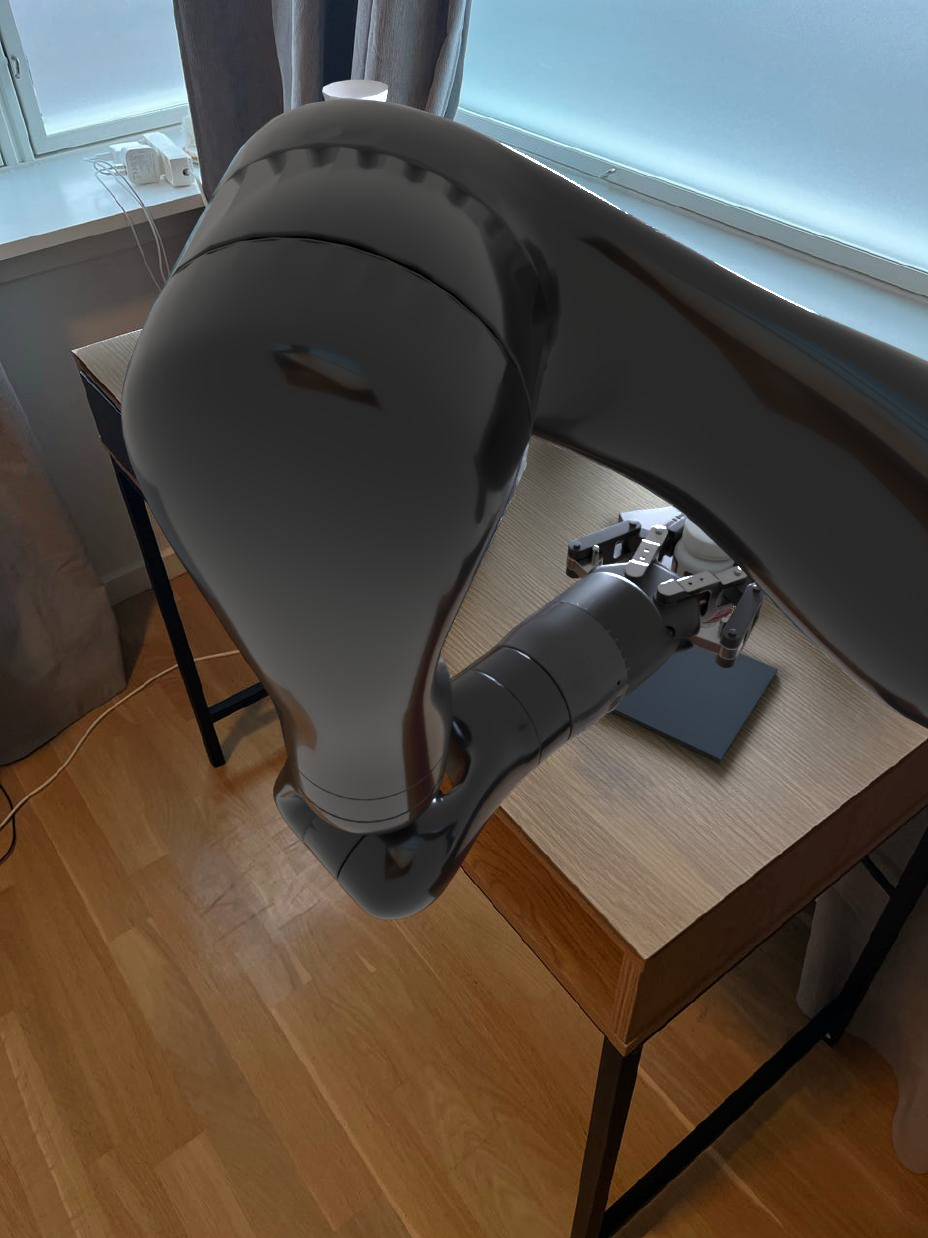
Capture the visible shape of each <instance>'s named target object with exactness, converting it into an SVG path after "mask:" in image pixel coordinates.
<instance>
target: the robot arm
mask: <svg viewBox="0 0 928 1238" xmlns="http://www.w3.org/2000/svg"><path fill="white" fill-rule="evenodd" d="M120 418H121V429H122V430H121V431H122V438H123V442H124V446H125V449H126V452H127V457H128V460H129V463H130V465H131V469H132V471H133V475H134V477H135V479H136V481H137V484H138V487H139V489H140V492H141V493H142V496H143V497H144V499H145V502H146V503H147V506H148V508H149V509H150V512H151V515H152V516H153V518H154V519H155V521H156V523H157V525H158V526H159V529H160V530H161V532H162V534H163V535H164V537H165V539H166V541H167V542H168V544H169V545H170V547H171V549H172V551H173V552H174V554H175V555H176V557H177V559H178V560H179V562H180V563H181V565H182V566H183V568H184V569H185V571H186V573H187V574H188V575H189V577H190V579H191V580H192V582H193V583H194V585H195V586H196V588H197V589H198V590H199V592H200V594H201V595H202V597H203V598H204V600H205V601H206V603H207V604H208V606H209V607H210V609H211V610H212V612H213V613H214V614H215V616H216V618H217V619H218V621H219V622H220V625H221V626H222V627H223V629H224V630H225V632H226V634H227V636H228V637H229V638H230V640H231V641H232V643H233V645H234V646H235V647H236V649H237V651H238V652H239V654H240V655H241V656H242V658H243V660H244V661H245V662H246V664H247V665H248V666H249V668H250V669H251V670H252V672H253V673H254V674H255V676H256V678H257V679H258V680H259V682H260V684H261V685H262V687H263V688H264V690H265V691H266V693H267V695H268V696H269V698H270V700H271V702H272V704H273V707H274V708H275V712H276V713H277V718H278V721H279V724H280V730H281V734H282V740H283V744H284V747H285V752H286V756H287V757H286V760H285V762H284V765H283V766H282V768H281V769H280V771H279V773H278V774H277V777H276V779H275V782H274V783H273V788H272V797H273V800H274V804H275V806H276V808H277V810H278V812H279V814H280V816H281V818H282V820H283V821H284V822H285V824H286V825H287V827H288V828H289V829H290V830H291V832H292V833H293V834H294V835H295V837H297V839H298V840H299V841H300V842H301V843H302V844H303V846H305V848H306V849H308V851H309V852H310V853H311V854H312V856H314V858H315V859H316V860H317V861H318V862H319V863H320V865H321V866H322V867H323V868H324V869H325V871H326V872H327V873H328V874H329V875H330V876H331V877H332V878H333V879H334V881H335V882H336V883H338V885H339V886H340V887H341V889H342V890H343V891H344V892H345V894H347V896H348V897H349V898H350V899H351V900H352V901H353V902H354V903H355V904H356V906H357V907H358V908H359V909H361V911H363V912H364V913H365V914H366V915H368V916H370V917H372V918H375V919H376V920H383V921H397V920H402V919H408V918H410V917H412V916H415V915H417V914H420V913H421V912H423V911H425V910H426V909H428V908H429V907H431V905H433V904H434V903H435V902H436V901H437V900H438V899H439V898H440V897H441V895H442V894H443V893H444V892H445V891H446V889H447V888H448V886H449V885H450V884H451V882H453V879H454V878H455V876H456V875H457V873H458V872H459V870H460V869H461V867H462V865H463V863H464V861H465V860H466V858H467V856H469V855H468V854H469V853H470V851H471V850H472V848H473V847H474V844H475V843H476V842H477V839H478V838H479V836H480V835H481V833H482V831H483V830H484V828H485V827H486V825H487V823H489V821H490V820H491V818H492V817H493V815H494V814H495V813H496V812H497V810H498V809H499V807H500V806H501V805H502V803H503V802H504V801H505V800H506V799H507V798H508V796H509V795H510V794H511V793H512V792H513V791H514V790H515V789H516V788H517V787H518V785H519V784H520V783H522V781H523V780H524V779H525V778H526V777H528V776H529V775H530V774H531V773H532V772H534V770H536V769H537V768H538V767H539V766H540V765H542V764H543V763H544V762H546V761H547V760H548V759H549V758H550V757H551V756H552V755H553V754H555V753H556V752H557V751H558V750H560V748H562V747H563V746H564V745H565V744H566V743H568V742H569V741H570V740H572V739H573V738H575V737H577V736H579V735H581V734H582V733H584V732H585V731H587V730H589V729H590V728H592V727H593V726H594V725H595V724H596V723H597V722H599V721H600V720H601V719H602V718H604V716H606V715H607V714H609V713H611V712H612V711H613V710H614V709H615V708H616V707H617V706H618V705H619V703H620V702H621V701H622V700H623V699H624V698H626V697H627V696H628V695H629V694H630V693H632V692H633V691H634V690H635V689H636V688H637V687H639V686H640V685H641V684H642V683H643V682H644V681H646V680H647V679H648V678H649V677H650V676H652V675H653V674H654V673H655V672H656V671H657V670H659V669H660V668H661V667H662V666H663V664H664V663H665V662H666V661H667V660H668V659H669V658H670V657H671V656H672V655H673V654H675V653H678V652H682V651H686V650H689V649H691V648H692V647H694V646H696V647H698V648H701V649H704V650H707V651H709V652H712V653H715V654H717V655H716V663H717V664H718V665H719V666H720V667H723V668H731V667H733V666H734V665H735V663H736V661H737V659H738V657H739V655H740V653H741V654H742V652H743V650H744V647H745V646H746V643H747V642H748V640H749V638H750V636H751V634H752V632H753V630H754V629H755V626H756V625H757V623H758V622H759V618H760V614H761V610H762V608H763V605H764V600H765V597H767V598H768V599H769V601H770V602H771V603H772V604H773V605H774V606H775V607H776V609H778V610H779V611H780V612H781V614H783V615H784V617H786V618H787V619H788V621H789V622H790V623H791V624H792V625H793V626H794V627H795V628H796V629H797V630H798V631H799V632H800V633H801V634H802V635H803V636H804V637H805V638H807V639H808V641H809V642H811V643H812V644H813V645H814V646H815V648H817V649H818V650H819V651H820V652H821V653H822V654H823V655H824V656H825V657H826V659H828V660H829V661H831V662H832V663H833V664H834V665H835V666H836V667H837V668H839V669H840V670H841V671H842V672H843V673H844V674H845V675H847V676H848V677H849V678H850V679H851V680H852V681H853V682H854V683H855V684H857V686H859V687H860V688H861V689H863V690H864V691H865V692H867V693H868V694H870V696H871V697H873V698H874V699H875V700H876V701H878V702H880V703H881V704H882V705H884V706H885V707H886V708H888V709H889V710H891V711H893V712H894V713H896V714H897V715H900V716H901V717H903V718H905V719H907V720H909V721H911V722H912V723H915V724H916V725H919V726H921V727H923V728H925V729H927V730H928V360H927V359H924V358H922V357H919V356H917V355H915V354H912V353H910V352H908V351H906V350H903V349H901V348H899V347H897V346H895V345H892V344H890V343H887V342H885V341H883V340H880V339H878V338H876V337H873V336H871V335H869V334H867V333H864V332H861V331H859V330H857V329H856V328H852V327H851V326H847V325H845V324H843V323H841V322H839V321H836V320H834V319H831V318H829V317H828V316H825V315H823V314H821V313H818V312H816V311H814V310H812V309H809V308H807V307H804V306H802V305H801V304H798V303H795V302H794V301H791V300H789V299H787V298H785V297H783V296H781V295H779V294H777V293H775V292H773V291H771V290H769V289H767V288H765V287H763V286H761V285H759V284H757V283H755V282H753V281H751V280H749V279H747V278H746V277H744V276H742V275H740V274H739V273H737V272H734V271H733V270H730V269H729V268H727V267H725V266H723V265H721V264H719V263H717V262H715V261H714V260H712V259H710V258H708V257H707V256H705V255H704V254H701V253H699V252H698V251H696V250H694V249H693V248H691V247H689V246H687V245H686V244H684V243H682V242H680V241H679V240H676V239H675V238H673V237H672V236H670V235H668V234H666V233H664V232H662V231H661V230H659V229H658V228H656V227H654V226H651V225H650V224H649V223H647V222H645V221H643V220H641V219H640V218H638V217H636V216H634V215H633V214H631V213H629V212H627V211H626V210H624V209H622V208H620V207H618V206H617V205H615V204H613V203H612V202H610V201H608V200H606V199H605V198H603V197H601V196H599V195H597V194H596V193H594V192H592V191H590V190H589V189H587V188H585V187H583V186H581V185H580V184H578V183H577V182H575V181H573V180H571V179H569V178H568V177H566V176H564V175H562V174H560V173H559V172H557V171H555V170H553V169H551V168H549V167H548V166H546V165H544V164H542V163H540V162H539V161H537V160H535V159H533V158H531V157H529V156H528V155H525V154H524V153H522V152H520V151H517V149H513V148H512V147H511V146H508V145H506V144H505V143H502V142H501V141H499V140H497V139H495V138H493V137H490V136H489V135H487V134H485V133H483V132H480V131H478V130H476V129H473V128H471V127H469V126H467V125H466V124H462V123H460V122H457V121H454V120H452V119H450V118H447V117H444V116H441V115H437V114H435V113H431V112H429V111H425V110H422V109H418V108H416V107H413V106H410V105H406V104H401V103H396V102H391V101H387V100H386V101H376V100H364V99H351V98H345V99H335V100H329V101H325V100H323V101H316V102H310V103H306V104H303V105H300V106H297V107H295V108H292V109H289V110H287V111H284V112H283V113H281V114H279V115H277V116H274V117H273V118H271V119H270V120H269V121H267V122H266V123H265V124H263V125H261V127H260V128H259V129H257V130H256V132H254V134H253V135H252V136H250V138H249V139H248V140H247V141H246V142H245V143H244V144H243V145H242V146H241V147H240V148H239V150H238V152H237V153H236V154H235V155H234V157H233V158H232V160H231V162H230V164H229V165H228V167H227V169H226V171H225V172H224V174H223V175H222V178H221V179H220V181H219V183H218V184H217V186H216V188H215V190H214V191H213V193H212V195H211V196H210V199H209V201H208V202H207V205H206V207H205V208H204V210H203V212H202V213H201V215H200V216H199V218H198V220H197V222H196V224H195V226H194V228H193V229H192V232H191V233H190V235H189V237H188V239H187V241H186V243H185V245H184V247H183V249H182V250H181V252H180V254H179V256H178V258H177V260H176V261H175V264H174V265H173V267H172V269H171V270H170V273H169V274H168V277H167V278H166V280H165V282H164V284H163V286H162V288H161V290H160V292H159V294H158V296H157V298H156V299H155V301H154V303H153V305H152V307H151V309H150V311H149V313H148V315H147V317H146V319H145V322H144V323H143V326H142V329H141V331H140V333H139V336H138V338H137V340H136V342H135V345H134V347H133V350H132V353H131V355H130V358H129V361H128V364H127V367H126V371H125V374H124V379H123V382H122V387H121V393H120ZM531 438H533V439H536V440H539V441H542V442H544V443H547V444H550V445H552V446H554V447H556V448H559V449H561V450H564V451H567V452H568V453H571V454H573V455H575V456H577V457H579V458H582V459H584V460H586V461H589V462H592V463H594V464H596V465H598V466H601V467H603V468H605V469H607V470H609V471H613V472H614V473H616V474H618V475H620V476H622V477H623V478H626V479H628V480H630V481H631V482H632V483H634V484H637V485H639V486H640V487H642V488H644V489H645V490H647V491H649V492H650V493H652V495H654V496H656V497H658V498H659V499H661V500H662V501H664V502H665V503H667V504H668V505H670V507H674V508H675V509H676V510H677V511H679V512H680V513H679V514H678V515H677V516H675V517H674V518H672V520H670V521H668V522H667V523H665V524H664V525H663V526H654V527H652V528H651V529H647V528H643V527H641V526H642V524H641V522H640V521H639V520H636V519H628V520H625V521H622V522H620V523H618V522H617V523H615V524H611V525H610V526H607V527H604V528H603V529H599V530H597V531H594V532H592V533H589V534H587V535H584V536H581V537H579V538H577V539H574V540H571V541H569V542H568V544H567V552H566V561H565V562H566V563H565V566H566V567H565V575H566V577H568V578H569V579H573V580H575V579H576V580H577V579H579V580H577V581H576V582H574V583H573V584H571V585H570V586H569V587H567V588H566V589H564V590H563V591H562V592H561V593H559V594H557V595H556V596H555V597H553V598H552V599H551V600H549V601H548V602H547V603H545V604H544V605H543V606H541V607H540V608H539V609H537V610H536V611H534V612H533V613H532V614H530V615H529V616H527V617H526V618H525V619H522V620H521V621H520V622H519V623H517V624H516V625H515V626H514V627H512V628H511V629H510V630H509V631H508V632H507V633H506V634H505V635H504V636H503V637H501V639H500V640H499V641H498V642H497V643H496V644H495V645H494V646H492V647H491V648H490V649H489V650H488V651H486V652H485V653H484V654H482V655H481V656H479V657H478V658H477V659H475V660H474V661H472V662H471V663H470V664H468V665H467V666H465V667H464V668H463V669H461V670H460V671H458V672H457V673H455V674H453V676H451V674H450V672H449V668H448V666H447V662H446V660H445V658H444V655H443V654H442V651H443V648H444V646H445V644H446V641H447V640H448V636H449V634H450V633H451V630H452V627H453V626H454V623H455V621H456V619H457V617H458V614H459V612H460V610H461V608H462V606H463V604H464V602H465V599H466V597H467V595H468V593H469V591H470V590H471V587H472V584H473V583H474V581H475V578H476V577H477V574H478V572H479V570H480V568H481V565H482V564H483V562H484V559H485V558H486V555H487V553H488V551H489V549H490V546H491V544H492V542H493V540H494V538H495V536H496V533H497V532H498V530H499V527H500V525H501V523H502V521H503V519H504V517H505V516H506V514H507V511H508V510H509V508H510V505H511V504H512V501H513V499H514V497H515V495H516V493H517V491H518V488H519V485H520V481H521V478H522V476H523V474H522V472H523V469H524V465H525V461H526V462H527V457H528V454H529V453H528V452H529V448H530V442H531ZM523 473H524V472H523ZM521 475H522V476H521ZM687 518H688V519H689V520H690V521H691V522H693V523H694V524H695V525H696V526H697V527H699V528H700V529H701V530H702V531H703V532H704V533H705V534H706V535H707V536H708V537H709V538H710V539H711V540H712V541H713V542H714V543H716V544H717V545H718V546H719V547H720V548H721V549H722V550H723V551H724V552H725V553H726V554H727V555H728V556H729V557H730V558H731V559H732V560H733V561H734V563H733V567H731V568H728V569H725V570H722V571H719V572H716V573H712V572H711V571H709V570H706V571H703V572H701V573H698V574H695V575H692V576H689V577H686V576H683V575H680V574H677V573H674V572H672V571H671V570H670V569H669V568H668V567H667V566H665V565H664V564H662V561H663V558H664V556H665V555H666V556H668V557H670V558H671V557H672V556H673V552H674V548H675V546H676V544H677V542H678V541H679V540H680V539H681V538H682V535H683V530H684V526H685V522H686V520H687ZM620 541H621V542H620ZM618 542H620V543H618ZM632 556H633V558H632ZM630 558H631V560H629V561H628V562H622V561H625V560H627V559H630ZM722 590H724V591H722ZM730 607H732V608H733V607H734V609H733V611H732V612H731V614H730V618H729V619H728V618H726V617H723V618H721V621H720V622H717V623H715V624H714V625H713V626H712V627H708V628H704V627H701V623H703V622H706V621H709V620H710V619H712V618H713V617H714V615H715V614H716V613H717V612H719V611H722V610H725V609H727V608H730ZM445 775H446V776H447V777H448V780H449V782H450V785H451V788H450V789H449V790H448V791H445V792H444V791H443V790H442V789H441V787H442V784H443V782H444V777H445Z"/></svg>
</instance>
